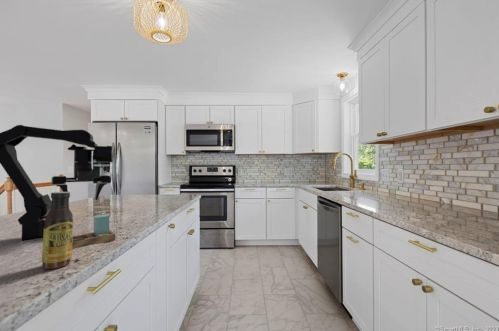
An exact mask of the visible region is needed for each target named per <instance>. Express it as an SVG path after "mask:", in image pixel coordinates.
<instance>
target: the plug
mask: <svg viewBox="0 0 499 331" xmlns="http://www.w3.org/2000/svg"><path fill="white" fill-rule="evenodd" d="M109 230H110V215H109V214H106V213H105V214H98V215H94V216H93V232H94V237H97V236H98V235H102V234H109Z"/></svg>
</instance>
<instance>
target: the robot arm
mask: <svg viewBox="0 0 499 331" xmlns="http://www.w3.org/2000/svg"><path fill="white" fill-rule="evenodd" d="M27 138H34V139H35V138H37V139H47V140H54V141H55V140H56V141H65V142H68V143H72V145H71V146H69V147H68V148H67V150H68V151H74V152H73V153H74V154H73V177H67V176H66V175H57V176H56V175H53V176H52V177H51V181H50V182H51V184H52V185H55V186H56V187H59V188H60V190H61V192H69V190H68V184H67V183H81V182H82V183H84V182H86V183H89V182H91V183H92V182H96V183H95V184H96V185H95V193H94V197H95V198H94V200H95V201H98V199H99V196H100V194H101V191H102V189H103V188H104V186H105V185H108V183H111V182H112V177H111V176H110V175H100V172H101V170H100V168H93V166H92V165H93V164H92V163H93V162H92V161H93V160H95V162H96V163H113V162H114V153H113V152H114V151H113V145H103V146H102V145H98V144H97V143H96V142H95V140H94V136H93V135H92V133H90V132H88V131H87V130H85V129H68V130H60V129H53V128H52V129H51V128H44V127H37V126H36V127H35V126H27V125H24V124H23V125H22V124H18V125H17V124H16V125H14V126H13V127H12V128H9V129H7V130H4V131H2V132H0V165H1V167H2V168H3V170H4V171H5V172H6V175H7V176H8V177H9V178H10V180H11V182H12V183H13V185H14V187H15V188H16V189H17V190H18V192H19V194H20V195H21V197H22V198H23V205H24V206H23V207H24V210H25V213H24V214H22V215H21V216H20V217H19V218H18V219H17V221H18V224H19V225H21V237H20V238H21V239H20V242H21V243H22V242H26V241H33V240H38V239H43V234H44V227H45V218H46V216H47V214H48V213H49V212H50V210H51V203H52V199H51V196H50V195H49V194H42V193H41V192H39V190H38V189H37V188H36V186H35V184H34V183H33V181H32V180H31V178H30V177H29V175H28V174H27V172H26V170H25V169H24V167H23V166H22V165H21V163H20V161H19V160H18V153H17V149H16V146H18V145H20V144H21V143H22V142H23V141H24V140H25V139H27ZM76 144H77V145H76ZM78 145H80V146H78ZM86 147H88V149H87V148H86ZM89 148H90V149H89Z"/></svg>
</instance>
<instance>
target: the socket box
mask: <svg viewBox="0 0 499 331" xmlns="http://www.w3.org/2000/svg"><path fill="white" fill-rule="evenodd" d="M92 232H93V233H89V232H86V233H87V234H83V233H80V234H76V235H73V238H72V249H77V248H82V247H88V246H93V245H97V244H102V243H108V242H113V241H116V233H115V232H113V231H112V230H111V229H109V234H102V235H98V236H97V237H94V231H92Z"/></svg>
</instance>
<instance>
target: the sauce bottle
mask: <svg viewBox="0 0 499 331" xmlns="http://www.w3.org/2000/svg"><path fill="white" fill-rule="evenodd" d="M70 198H71V192H70V191H68V192H63V191H53V192H51V193H50V199H51V201H52V203H51V210H50V212H49V213H48V214H47V216H46V218H45V219H44V220H45V227H44V234H43V238H42V250H41V252H42V254H41V262H42V264H41V267H42V269H44V270H54V269H60V268H62V267H65V266H68V265H69V264H70V263H71V261H72V260H71V259H72V255H73V248H72V238H73V236H74V235H73V234H74V232H73V231H74V216H73V213H72V211H71V209H70Z"/></svg>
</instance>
